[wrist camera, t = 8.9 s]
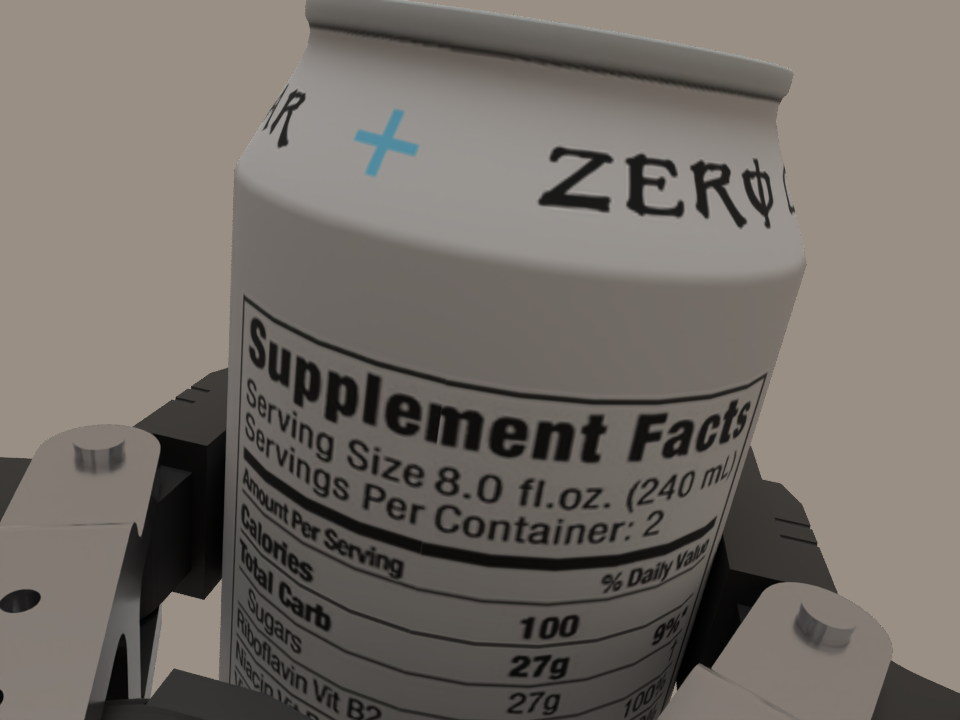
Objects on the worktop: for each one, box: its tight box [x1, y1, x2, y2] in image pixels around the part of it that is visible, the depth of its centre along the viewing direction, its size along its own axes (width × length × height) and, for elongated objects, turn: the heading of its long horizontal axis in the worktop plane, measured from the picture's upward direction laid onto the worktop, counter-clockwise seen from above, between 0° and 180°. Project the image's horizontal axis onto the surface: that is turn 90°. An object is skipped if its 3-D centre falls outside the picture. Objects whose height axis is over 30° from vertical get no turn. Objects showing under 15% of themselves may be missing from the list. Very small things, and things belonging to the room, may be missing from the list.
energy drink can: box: [219, 0, 806, 720], centre depth 10 cm, size 6×6×15 cm
